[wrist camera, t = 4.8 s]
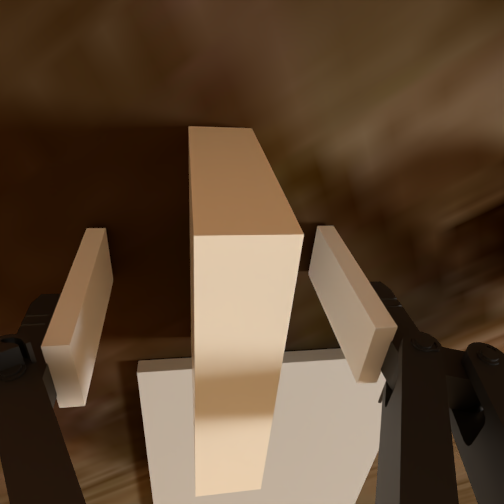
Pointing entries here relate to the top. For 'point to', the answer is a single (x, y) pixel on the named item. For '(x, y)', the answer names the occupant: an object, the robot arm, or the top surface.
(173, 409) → the mat
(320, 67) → the top surface
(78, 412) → the top surface
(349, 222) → the top surface
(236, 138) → the block
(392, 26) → the top surface
